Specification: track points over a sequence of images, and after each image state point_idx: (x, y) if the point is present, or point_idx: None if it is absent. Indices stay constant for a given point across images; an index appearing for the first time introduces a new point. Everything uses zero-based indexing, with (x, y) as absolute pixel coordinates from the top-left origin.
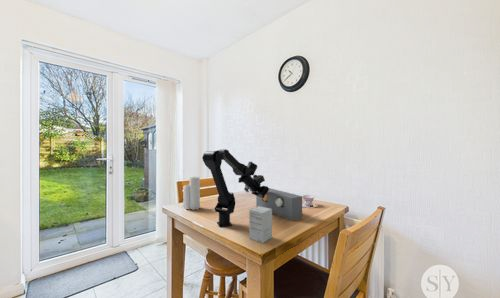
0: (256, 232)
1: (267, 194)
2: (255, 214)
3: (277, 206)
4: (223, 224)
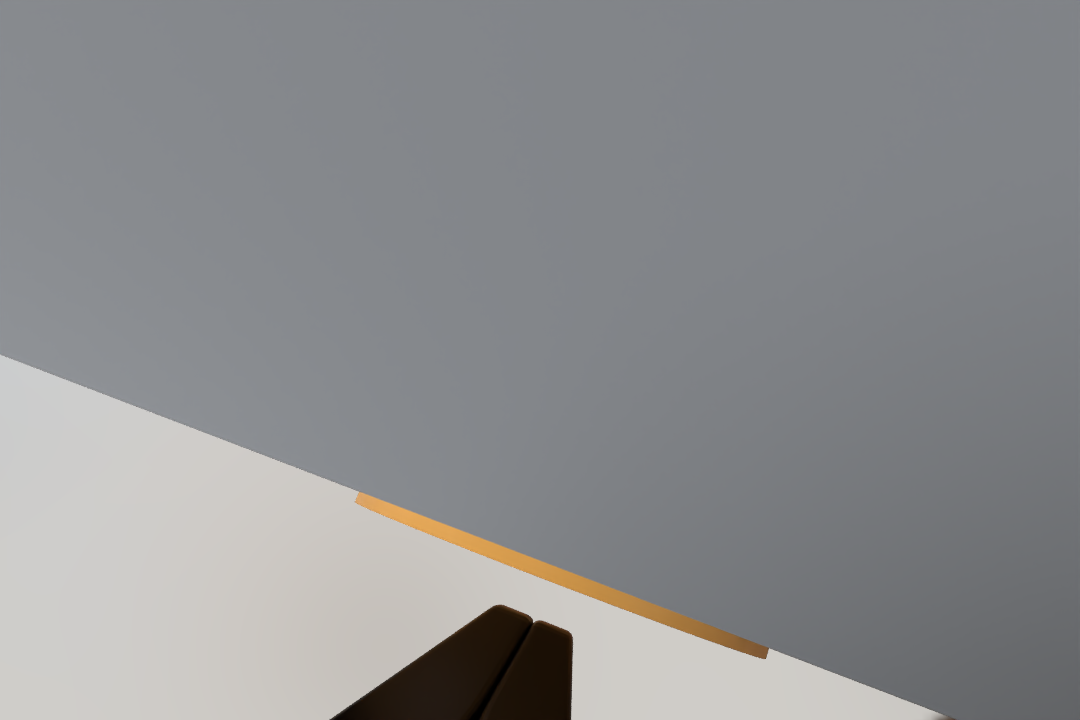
0: None
1: None
2: None
3: None
4: None
